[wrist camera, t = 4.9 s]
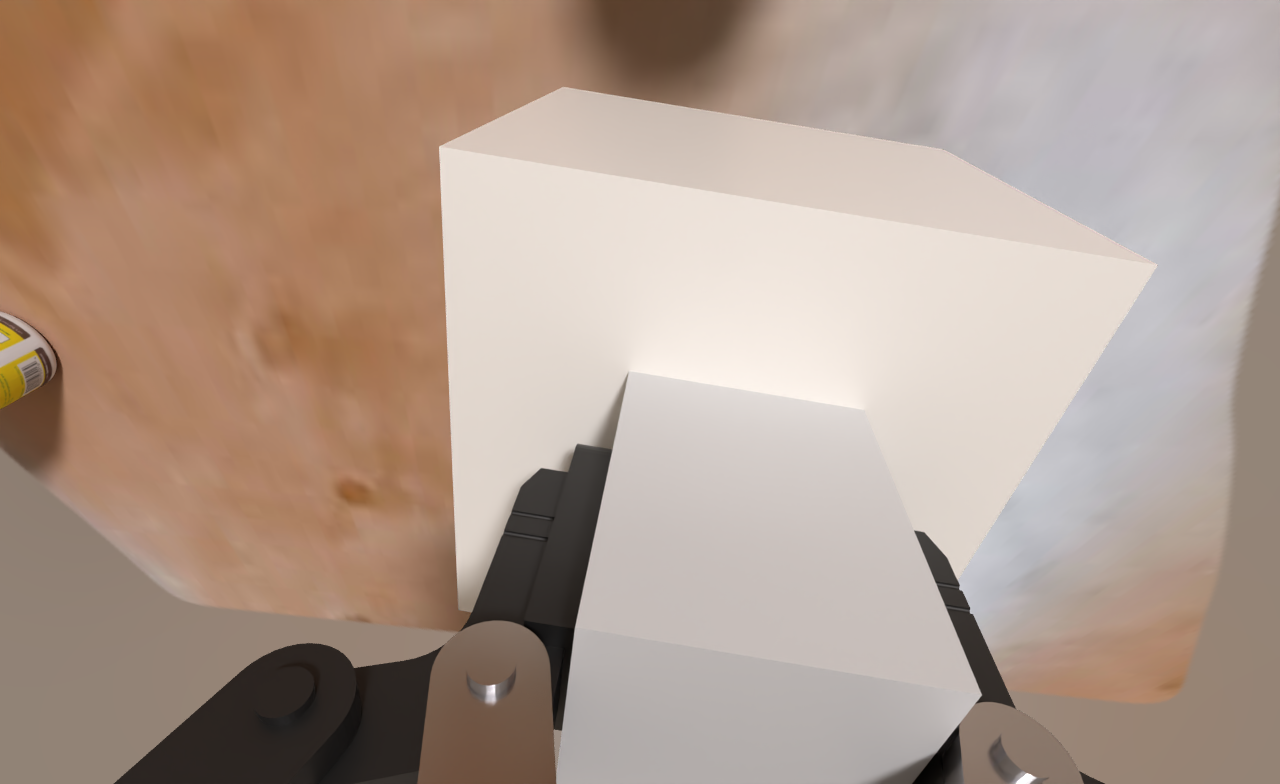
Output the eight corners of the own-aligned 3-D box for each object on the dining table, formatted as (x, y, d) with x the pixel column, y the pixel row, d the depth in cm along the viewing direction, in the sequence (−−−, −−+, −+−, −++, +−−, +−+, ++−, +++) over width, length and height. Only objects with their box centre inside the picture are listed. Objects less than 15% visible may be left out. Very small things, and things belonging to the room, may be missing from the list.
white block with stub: (943, 149, 16) (1625, 516, 4) (826, 450, 21) (976, 975, 10) (563, 86, 16) (168, 275, 4) (544, 403, 21) (350, 869, 10)
